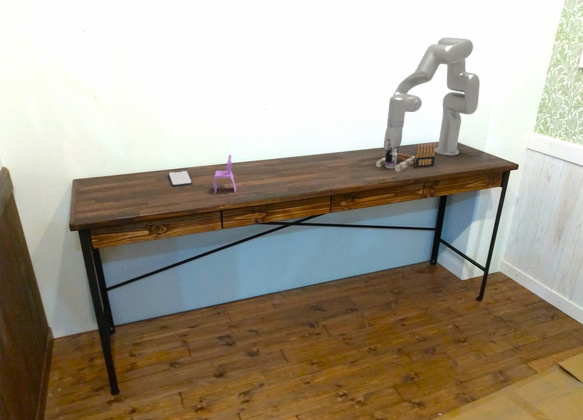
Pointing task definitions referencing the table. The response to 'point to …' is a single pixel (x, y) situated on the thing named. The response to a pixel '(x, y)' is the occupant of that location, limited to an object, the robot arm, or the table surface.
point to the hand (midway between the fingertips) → (391, 160)
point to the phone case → (180, 178)
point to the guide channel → (400, 166)
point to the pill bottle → (394, 159)
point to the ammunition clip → (424, 156)
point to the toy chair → (225, 174)
